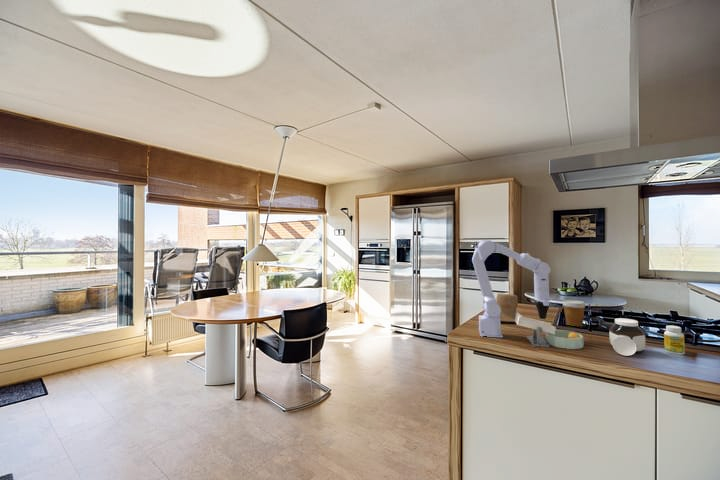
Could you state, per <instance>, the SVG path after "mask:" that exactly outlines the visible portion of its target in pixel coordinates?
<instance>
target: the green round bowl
mask: <svg viewBox="0 0 720 480" xmlns="http://www.w3.org/2000/svg"><path fill="white" fill-rule="evenodd" d="M572 332H574V333H577V334H578V335H579V338H568V334H569V333H572ZM545 341H546V342H547V343H548V344H549V345H550V346H553V347H555V348H559V349H560V348H561V349H565V348H566V349H567V350H577V349H578V350H579V349H582V348H583V347H584V346H585V345H584V344H585V343H584V342H585V341H584V336H583V334H582V333H579V332H576V331H573V330H567V329H556V330H555V334H552V333H548V332H545ZM566 349H565V350H566Z"/></svg>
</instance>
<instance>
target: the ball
mask: <svg viewBox="0 0 720 480" xmlns="http://www.w3.org/2000/svg"><path fill="white" fill-rule="evenodd" d="M574 332H575V331H573V332H572V333H569V334H568V338H579V335H578V334H577V333H578V332H576V333H574Z"/></svg>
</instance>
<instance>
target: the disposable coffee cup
mask: <svg viewBox="0 0 720 480" xmlns="http://www.w3.org/2000/svg"><path fill="white" fill-rule="evenodd" d="M562 301H563V302H562V304H561V305H562V307H563V312H564V316H565V321H566V326H567V325H571V326H582V327H583V324H584V314H585V307H586V304H585V301H582V300H576V299H566V300H564V299H563V300H562Z"/></svg>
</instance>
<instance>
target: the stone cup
mask: <svg viewBox="0 0 720 480" xmlns="http://www.w3.org/2000/svg"><path fill="white" fill-rule="evenodd" d="M495 299H496V302H497V304H498V305H499V306H500V308H501V313H500V322H502V323H516V322H515V317H516V313H517V308H518V305H519V304H518V303H519V298H518V295H516V294H511V293H497V294H496V298H495Z"/></svg>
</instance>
